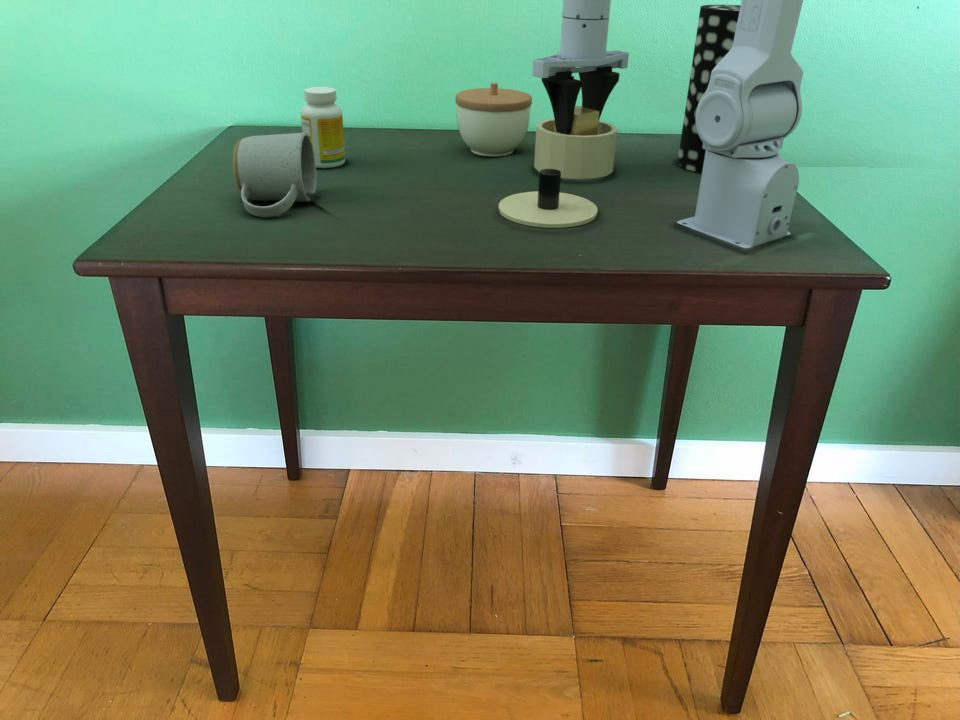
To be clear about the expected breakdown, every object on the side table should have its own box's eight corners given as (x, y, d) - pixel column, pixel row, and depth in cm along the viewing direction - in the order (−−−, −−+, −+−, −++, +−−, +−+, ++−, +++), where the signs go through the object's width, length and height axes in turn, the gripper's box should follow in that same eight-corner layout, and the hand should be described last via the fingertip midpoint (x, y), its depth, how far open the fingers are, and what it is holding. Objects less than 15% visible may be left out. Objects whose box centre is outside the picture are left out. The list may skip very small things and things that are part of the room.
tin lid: (617, 220, 87) (622, 176, 84) (541, 240, 81) (544, 193, 78) (552, 194, 94) (554, 152, 92) (478, 211, 88) (479, 167, 86)
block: (596, 142, 101) (599, 111, 99) (574, 146, 99) (576, 114, 97) (575, 136, 104) (578, 105, 102) (553, 140, 101) (555, 109, 99)
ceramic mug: (251, 188, 94) (242, 124, 90) (319, 189, 94) (313, 125, 90) (228, 219, 85) (217, 150, 81) (302, 220, 85) (295, 151, 81)
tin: (628, 174, 102) (633, 129, 99) (570, 187, 97) (574, 140, 94) (575, 156, 109) (578, 114, 106) (518, 168, 104) (520, 123, 101)
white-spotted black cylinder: (716, 177, 102) (745, 12, 92) (665, 163, 107) (687, 6, 97) (750, 166, 107) (781, 9, 97) (700, 154, 112) (724, 3, 102)
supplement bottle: (298, 167, 102) (291, 92, 97) (314, 156, 107) (308, 84, 102) (337, 170, 101) (331, 94, 96) (351, 159, 106) (346, 86, 101)
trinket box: (523, 163, 106) (526, 93, 101) (447, 157, 107) (447, 88, 103) (534, 144, 115) (537, 78, 110) (464, 139, 117) (464, 74, 112)
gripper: (605, 11, 100) (595, 118, 107) (518, 16, 93) (514, 131, 99) (645, 16, 95) (632, 128, 102) (557, 23, 88) (549, 143, 94)
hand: (576, 130), depth 100 cm, fingers closed on block, 4 cm apart
